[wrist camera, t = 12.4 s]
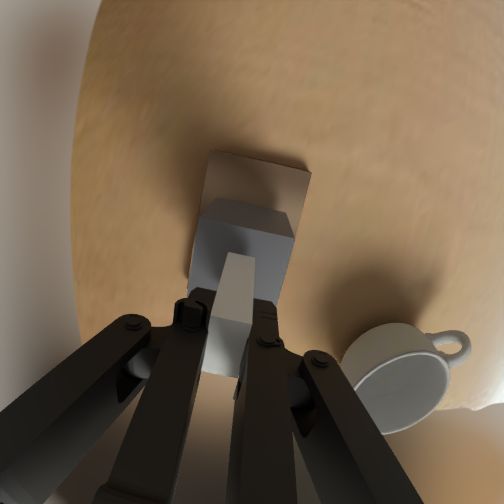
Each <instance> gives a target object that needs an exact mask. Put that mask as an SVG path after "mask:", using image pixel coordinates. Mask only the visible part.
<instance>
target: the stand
mask: <svg viewBox="0 0 504 504" xmlns="http://www.w3.org/2000/svg"><path fill="white" fill-rule="evenodd" d="M311 174H312V173H311V172H309V171H305V170H301V169H297V168H293V167H289V166H285V165H280V164H276V163H272V162H267V161H263V160H258V159H254V158H249V157H244V156H239V155H234V154H229V153H224V152H219V151H213V150H212V151H210V155H209V160H208V165H207V170H206V175H205V180H204V186H203V191H202V197H201V202H200V208H199V214H198V220H197V226H196V232H195V238H194V244H193V251H192V257H191V264H190V271H189V278H188V285H187V289H188V286H189V279H190V272H191V265H192V258H193V252H194V245H195V239H196V233H197V227H198V221H199V217H200V216H201V215H202V214H203V212H204V211H205V210H206V209H207V208H208V206H209V205H210V204H211V203H212V202H213V200H214V199H215V198H216V197H217V198H221V199H226V200H231V201H236V202H241V203H245V204H250V205H255V206H259V207H264V208H268V209H273V210H277V211H282V212H286V214H287V217H288V220H289V222H290V225H291V228H292V231H293V234H294V237H295V236H296V232H297V228H298V224H299V221H300V217H301V213H302V209H303V205H304V201H305V198H306V194H307V190H308V186H309V182H310V178H311Z"/></svg>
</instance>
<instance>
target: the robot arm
mask: <svg viewBox="0 0 504 504" xmlns="http://www.w3.org/2000/svg"><path fill="white" fill-rule="evenodd" d="M254 274H255V257H250V256H245V255H240V254H236V253H231V252H228V255H227V258H226V262H225V265H224V269H223V272H222V276H221V279H220V283H219V286H218V290H217V291H214V290H209V289H205V288H200V287H196V288H195V289H193V290H192V291H191V292H190V294H189V296H188V298H183V299H180V300H178V301H177V302H176V303H175V307H174V317H173V323H172V325H170V326H166V327H151V323H150V321H149V320H148V319H147V318H145V317H144V316H141V315H138V314H126V315H123V316H121V317H119V318H117V319H116V320H115V321H114V322H112V323H111V324H110V325H108V326H107V327H106V328H104V329H103V330H102V331H101V332H99V333H98V334H97V335H95V336H94V337H93V338H92V339H90V340H89V341H88V342H86V343H85V344H84V345H83V346H81V347H80V348H79V349H77V350H76V351H75V352H74V353H72V354H71V355H70V356H69V357H67V358H66V359H65V360H64V361H62V362H61V363H60V364H59V365H57V366H56V367H55V368H54V369H52V370H51V371H50V372H49V373H47V374H46V375H45V376H44V377H42V378H41V379H40V380H39V381H37V382H36V383H35V384H34V385H32V386H31V387H30V388H29V389H28V390H26V391H25V392H24V393H23V394H21V395H20V396H19V397H18V398H17V399H15V400H14V401H13V402H12V403H11V404H10V405H8V406H7V407H6V408H5V409H3V410H2V411H1V412H0V504H43V503H44V502H45V501H46V500H47V499H48V498H49V497H50V495H51V494H52V493H53V492H54V491H55V490H56V488H57V487H58V486H59V485H60V484H61V483H62V482H63V480H64V479H65V478H66V477H67V476H68V475H69V473H70V472H71V471H72V470H73V469H74V468H75V467H76V465H77V464H78V463H79V462H80V461H81V460H82V458H83V457H84V456H85V455H86V454H87V453H88V451H89V450H90V449H91V448H92V447H93V446H94V444H95V443H96V442H97V441H98V440H99V439H100V437H101V436H102V435H103V434H104V433H105V432H106V430H107V429H108V428H109V427H110V426H111V425H112V423H113V422H114V421H115V420H116V419H117V418H118V417H119V415H120V414H121V413H122V412H123V411H124V410H125V408H126V407H127V406H128V405H129V404H130V403H131V401H132V400H133V399H134V398H135V397H136V396H137V394H138V393H139V392H140V391H141V390H142V389H143V387H144V386H145V388H144V390H143V393H142V395H141V397H140V400H139V402H138V405H137V407H136V410H135V412H134V414H133V417H132V419H131V422H130V424H129V427H128V429H127V432H126V435H125V437H124V440H123V443H122V445H121V447H120V450H119V453H118V455H117V458H116V461H115V463H114V466H113V468H112V471H111V474H110V477H109V479H108V481H107V482H106V483H105V484H103V485H101V486H100V487H99V489H98V490H97V492H96V494H95V496H94V499H93V502H92V504H172V502H173V498H174V493H175V488H176V483H177V478H178V474H179V469H180V465H181V460H182V455H183V451H184V446H185V442H186V437H187V432H188V428H189V423H190V419H191V415H192V410H193V406H194V402H195V397H196V393H197V389H198V384H199V380H200V374H201V371H204V372H209V373H214V374H219V375H224V376H229V377H234V378H238V375H239V378H238V382H237V386H236V389H235V393H234V397H233V399H234V400H235V404H234V413H233V423H232V433H231V443H230V453H229V463H228V474H227V483H226V493H225V504H297V493H296V492H297V491H296V476H295V462H294V449H293V436H292V431H293V434H294V436H295V439H296V442H297V444H298V447H299V449H300V452H301V454H302V457H303V459H304V462H305V464H306V467H307V470H308V472H309V474H310V477H311V479H312V482H313V484H314V487H315V489H316V492H317V494H318V497H319V499H320V502H321V504H424V503H423V501H422V500H421V498H420V496H419V495H418V493H417V491H416V490H415V488H414V486H413V485H412V483H411V481H410V480H409V478H408V476H407V475H406V473H405V472H404V470H403V468H402V467H401V465H400V463H399V462H398V460H397V458H396V457H395V455H394V453H393V452H392V450H391V448H390V447H389V445H388V444H387V442H386V440H385V439H384V437H383V435H382V434H381V432H380V431H379V429H378V427H377V426H376V424H375V422H374V421H373V419H372V418H371V416H370V414H369V413H368V411H367V410H366V408H365V406H364V405H363V403H362V402H361V400H360V398H359V397H358V395H357V394H356V392H355V390H354V389H353V387H352V386H351V384H350V382H349V381H348V379H347V378H346V376H345V374H344V373H343V371H342V370H341V368H340V366H339V365H338V363H337V362H336V360H335V359H334V358H333V357H332V356H331V355H329V354H328V353H326V352H323V351H319V350H310V351H307V352H306V353H305V354H304V356H300V355H297V354H295V353H292V352H290V351H289V350H287V349H285V346H284V343H283V340H282V339H281V338H280V337H279V330H278V321H277V320H278V318H277V308H276V306H275V305H274V304H273V303H272V301H266V300H261V299H256V298H253V295H254Z"/></svg>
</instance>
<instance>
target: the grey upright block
mask: <svg viewBox="0 0 504 504" xmlns="http://www.w3.org/2000/svg"><path fill="white" fill-rule="evenodd" d="M294 241H295V237H294V234H293V231H292V228H291V225H290V222H289V220H288V217H287V214H286V212H282V211H277V210H273V209H268V208H264V207H259V206H255V205H250V204H245V203H241V202H236V201H231V200H226V199H221V198H217V197H216V198H215V199H214V200H213V202H212V203H211V204H210V205H209V206H208V208H207V209H206V210H205V211H204V212H203V214H202V215H201V216H200V217H199V221H198V227H197V233H196V239H195V245H194V252H193V258H192V265H191V272H190V279H189V286H188V293H187V298H188V296H189V294H190V292H191V291H192V290H193V289H195V288H196V287H200V288H205V289H209V290H214V291H217V290H218V286H219V283H220V279H221V276H222V272H223V269H224V265H225V262H226V258H227V255H228V252H231V253H236V254H240V255H245V256H250V257H255V274H254V295H253V298H256V299H261V300H266V301H272V303H273V304H274V305H275V306H276V305H277V302H278V298H279V295H280V291H281V288H282V284H283V281H284V277H285V274H286V270H287V267H288V263H289V259H290V256H291V252H292V248H293V245H294Z"/></svg>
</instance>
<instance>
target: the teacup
mask: <svg viewBox="0 0 504 504" xmlns="http://www.w3.org/2000/svg"><path fill="white" fill-rule="evenodd" d="M445 343H459V344H461V345H462V349H461V350H460V351H459V352H457V353H455V354H451V355H449V354H445V353H444V352H442V351H438V350H437V349H436V348H435V347H434V346H437V345H441V344H445ZM470 353H471V342H470V339H469V337H468V336H467V335H466V334H465V333H464V332H461V331H457V330H449V331H443V332H439V333H435V334H431V333H425V334H423V333H422V332H421V331H420V330H419V329H417V328H415V327H414V326H411V325H409V324H405V323H387V324H383V325H380V326H377V327H374V328H372V329H370V330H368V331H367V332H365V333H364V334H362V335H361V336H360V337H358V338H357V339H356V340H355V341H354V342H353V343H352V344H351V345H350V347H349V348H348V350H347V351H346V353H345V355H344V357H343V359H342V362H341V366H340V368H341V370H342V371H343V373H344V374H345V376H346V378H347V379H348V381H349V382H350V384H351V386H352V387H353V389H354V390H355V392H356V394H357V395H358V397H359V398H360V400H361V402H362V403H363V405H364V406H365V408H366V410H367V411H368V413H369V414H370V416H371V418H372V419H373V421H374V422H375V424H376V426H377V427H378V429H379V431H380V432H381V434H389V433H394V432H398V431H401V430H404V429H406V428H408V427H410V426H412V425H414V424H416V423H418V422H419V421H420V420H422V419H424V418H425V417H426V416H428V415H429V414H430V413H431V412H432V411H433V410H434V409H435V408H436V407H437V406H438V405H439V404H440V402H441V401H442V399H443V398H444V396H445V394H446V392H447V390H448V387H449V383H450V368H453V367H457V366H459V365H461V364H463V363H464V362H465V361H466V360H467V359H468V358H469V356H470Z"/></svg>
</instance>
